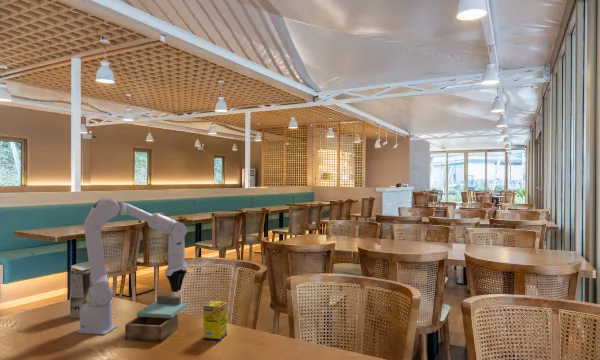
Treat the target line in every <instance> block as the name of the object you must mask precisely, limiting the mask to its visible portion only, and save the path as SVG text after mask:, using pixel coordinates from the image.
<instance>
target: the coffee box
mask: <svg viewBox="0 0 600 360" xmlns="http://www.w3.org/2000/svg"><path fill="white" fill-rule="evenodd" d="M90 277H91V275H90V268H86V269H85V268H84V269H82V270H78V271H75V272H71V273H70V294H69V296H70V298H69V299H70V301H69V302H70V303H69V304H70V306H69V309H70V310H69V311H70V312H69V318H75V319H80V310H81V308H82V306H83V305H84V304H85V303H89V302H90V300H91V299H92V298H91V296H90V295H89V292H88V291H89V287H90Z"/></svg>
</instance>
